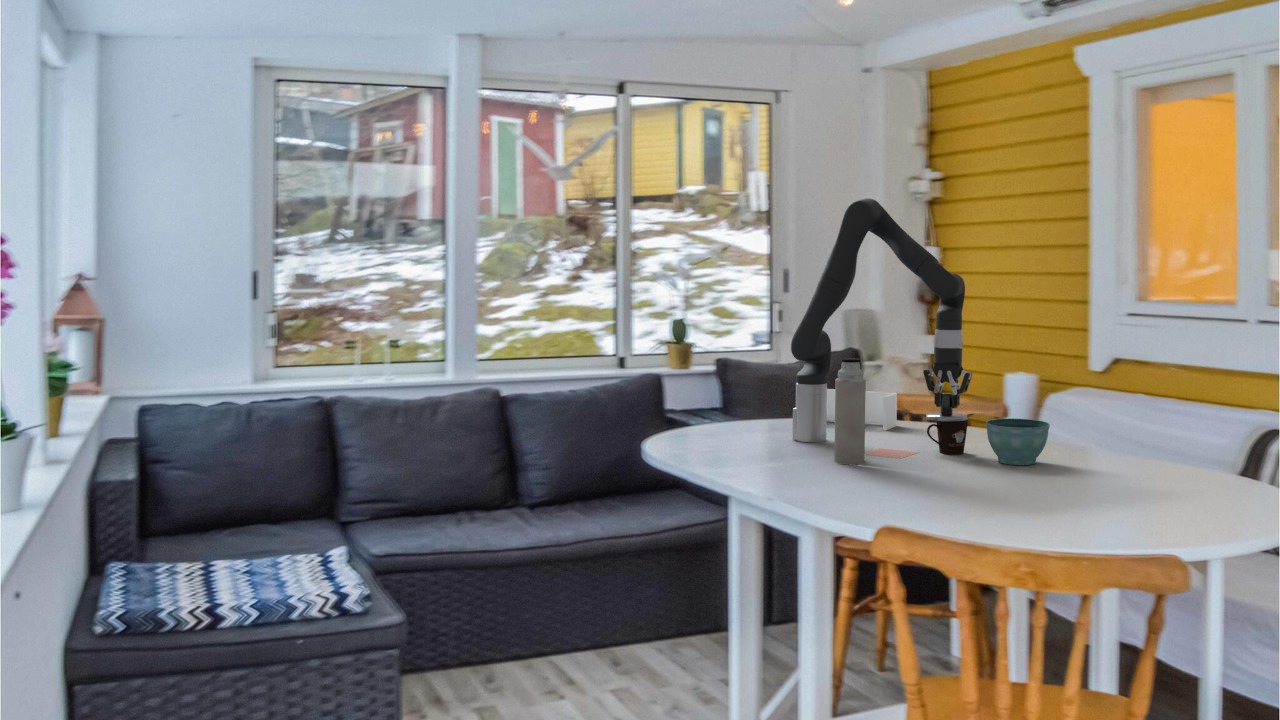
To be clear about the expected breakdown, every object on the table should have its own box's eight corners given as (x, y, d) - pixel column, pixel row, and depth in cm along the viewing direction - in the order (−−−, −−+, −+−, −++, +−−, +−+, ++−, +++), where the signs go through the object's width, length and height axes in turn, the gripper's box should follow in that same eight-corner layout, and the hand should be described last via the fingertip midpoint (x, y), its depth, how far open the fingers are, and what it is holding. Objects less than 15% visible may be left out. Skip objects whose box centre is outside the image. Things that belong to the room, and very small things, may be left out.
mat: (860, 455, 319) (860, 453, 319) (880, 449, 329) (880, 448, 329) (900, 459, 312) (900, 458, 312) (919, 453, 321) (919, 452, 321)
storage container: (896, 426, 374) (896, 392, 373) (886, 431, 364) (886, 396, 363) (823, 421, 386) (823, 388, 385) (811, 425, 376) (811, 392, 375)
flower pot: (1017, 470, 296) (1018, 428, 296) (972, 460, 311) (973, 420, 310) (1062, 465, 304) (1063, 424, 303) (1016, 455, 318) (1017, 416, 317)
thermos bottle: (837, 458, 314) (838, 356, 312) (866, 460, 312) (867, 357, 309) (831, 463, 307) (833, 359, 304) (862, 465, 304) (863, 360, 301)
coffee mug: (964, 451, 324) (965, 416, 324) (970, 457, 316) (970, 421, 315) (922, 451, 326) (923, 416, 325) (927, 456, 317) (927, 420, 316)
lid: (919, 419, 319) (919, 394, 318) (936, 414, 328) (936, 390, 327) (957, 422, 312) (957, 397, 311) (973, 418, 321) (973, 393, 320)
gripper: (918, 345, 319) (917, 406, 321) (967, 348, 311) (965, 411, 312) (929, 343, 325) (928, 403, 327) (978, 346, 316) (976, 408, 318)
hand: (946, 407), depth 319 cm, fingers open, 4 cm apart
